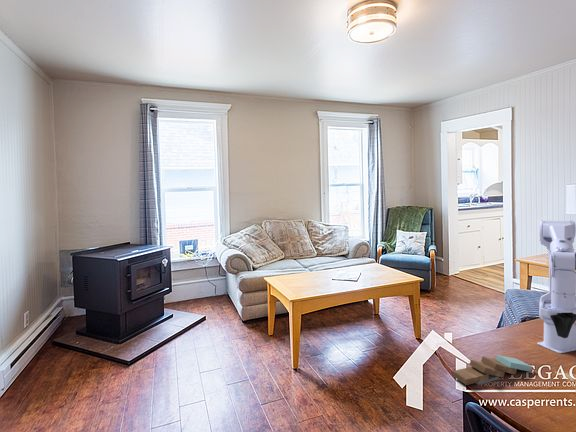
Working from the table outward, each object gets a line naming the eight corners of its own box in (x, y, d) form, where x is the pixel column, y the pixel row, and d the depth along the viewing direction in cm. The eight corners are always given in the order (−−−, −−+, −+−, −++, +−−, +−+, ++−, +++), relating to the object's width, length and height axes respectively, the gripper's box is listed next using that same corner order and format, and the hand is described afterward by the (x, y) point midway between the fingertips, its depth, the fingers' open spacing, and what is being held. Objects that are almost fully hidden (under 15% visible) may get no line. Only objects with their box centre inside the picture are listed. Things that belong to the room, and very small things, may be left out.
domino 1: (474, 366, 103) (452, 370, 101) (488, 374, 98) (466, 379, 96) (474, 371, 103) (452, 376, 101) (488, 379, 98) (466, 385, 96)
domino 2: (490, 364, 105) (470, 359, 103) (504, 372, 100) (485, 367, 98) (488, 369, 105) (469, 364, 103) (503, 377, 100) (483, 372, 98)
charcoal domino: (483, 368, 105) (463, 373, 102) (498, 376, 100) (477, 382, 97) (483, 373, 105) (463, 379, 102) (498, 381, 100) (477, 387, 97)
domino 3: (502, 361, 107) (482, 356, 105) (516, 369, 102) (496, 363, 100) (501, 366, 107) (481, 361, 105) (515, 374, 102) (494, 369, 100)
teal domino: (517, 358, 108) (497, 354, 106) (532, 366, 103) (511, 362, 101) (516, 363, 108) (496, 359, 106) (530, 371, 103) (509, 367, 101)
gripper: (558, 298, 96) (557, 345, 97) (596, 293, 100) (595, 338, 101) (534, 291, 103) (534, 336, 104) (570, 286, 107) (569, 329, 108)
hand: (562, 336), depth 103 cm, fingers closed
